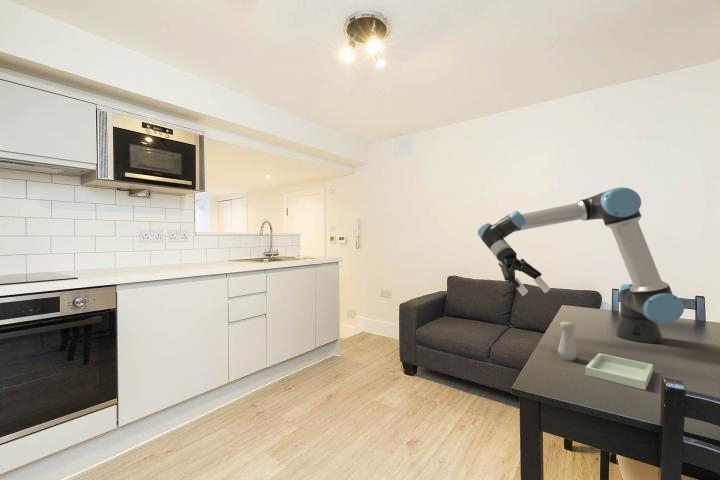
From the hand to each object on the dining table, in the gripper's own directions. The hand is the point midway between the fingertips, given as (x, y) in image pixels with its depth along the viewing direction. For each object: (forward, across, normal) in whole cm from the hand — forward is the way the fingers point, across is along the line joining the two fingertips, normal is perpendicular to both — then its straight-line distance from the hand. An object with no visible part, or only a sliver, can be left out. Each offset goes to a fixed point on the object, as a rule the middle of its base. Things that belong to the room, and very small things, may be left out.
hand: (536, 292), depth 121 cm
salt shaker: (+24, 0, -8) cm, 25 cm away
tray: (+34, -2, +3) cm, 34 cm away
